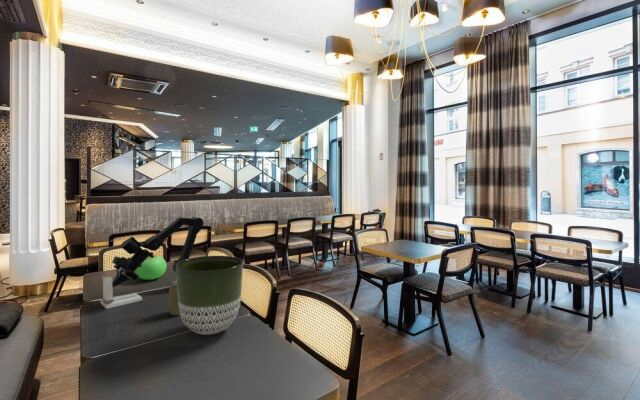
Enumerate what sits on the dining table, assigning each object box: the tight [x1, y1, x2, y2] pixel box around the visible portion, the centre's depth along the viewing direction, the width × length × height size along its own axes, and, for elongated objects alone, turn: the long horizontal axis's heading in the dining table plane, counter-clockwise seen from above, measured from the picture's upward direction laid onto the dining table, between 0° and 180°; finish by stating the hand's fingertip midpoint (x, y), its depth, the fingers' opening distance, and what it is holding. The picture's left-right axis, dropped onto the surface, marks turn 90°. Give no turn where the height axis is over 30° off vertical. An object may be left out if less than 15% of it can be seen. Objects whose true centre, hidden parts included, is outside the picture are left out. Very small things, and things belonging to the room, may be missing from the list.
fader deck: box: [100, 292, 143, 310], centre depth 154 cm, size 15×9×2 cm, turn 138°
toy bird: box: [135, 254, 168, 281], centre depth 191 cm, size 18×17×15 cm
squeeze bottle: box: [167, 275, 180, 316], centre depth 142 cm, size 8×8×18 cm
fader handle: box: [102, 275, 114, 304], centre depth 149 cm, size 3×6×11 cm, turn 47°
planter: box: [175, 255, 244, 336], centre depth 125 cm, size 24×24×27 cm
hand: (111, 286), depth 151 cm, fingers closed, pressing on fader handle
